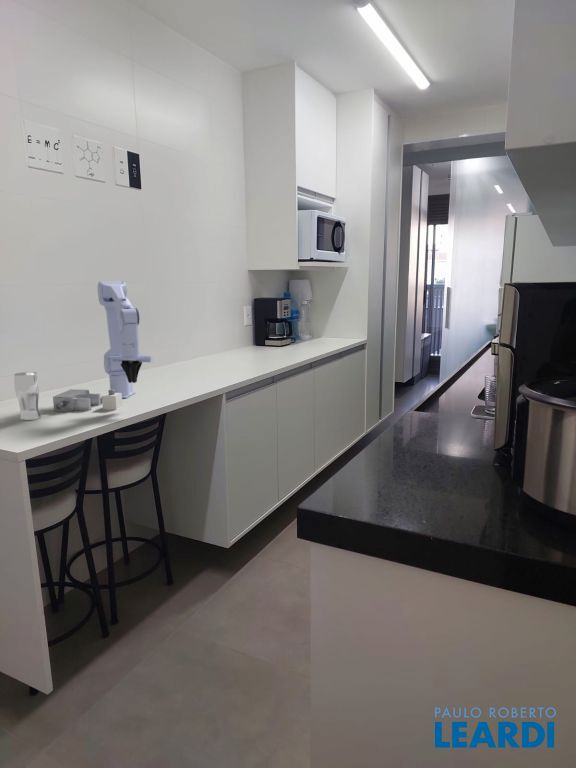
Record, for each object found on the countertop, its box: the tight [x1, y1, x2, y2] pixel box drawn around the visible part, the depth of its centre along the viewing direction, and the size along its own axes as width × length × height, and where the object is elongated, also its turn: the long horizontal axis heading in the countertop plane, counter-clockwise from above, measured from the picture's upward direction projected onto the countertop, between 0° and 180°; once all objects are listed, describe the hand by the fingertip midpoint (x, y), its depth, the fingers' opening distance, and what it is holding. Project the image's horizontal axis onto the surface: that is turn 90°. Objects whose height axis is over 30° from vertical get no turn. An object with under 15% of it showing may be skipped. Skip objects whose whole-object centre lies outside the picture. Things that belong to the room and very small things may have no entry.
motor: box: [52, 388, 102, 412], centre depth 179 cm, size 15×12×5 cm
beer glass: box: [13, 371, 41, 422], centre depth 165 cm, size 7×7×15 cm
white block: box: [101, 389, 123, 411], centre depth 179 cm, size 5×5×6 cm
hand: (132, 382), depth 177 cm, fingers closed
